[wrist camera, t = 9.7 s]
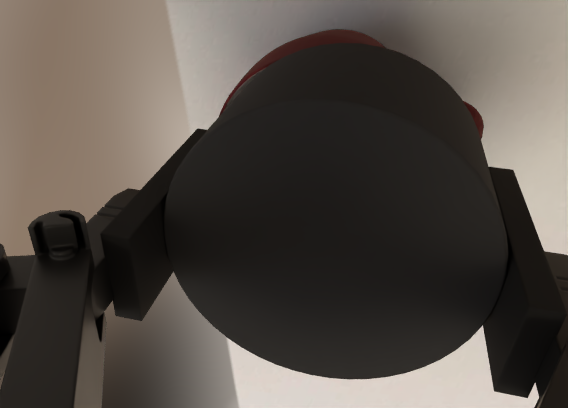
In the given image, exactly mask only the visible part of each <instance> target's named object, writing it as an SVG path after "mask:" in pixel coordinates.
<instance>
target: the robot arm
mask: <svg viewBox="0 0 568 408" xmlns="http://www.w3.org/2000/svg"><path fill="white" fill-rule="evenodd" d="M206 131H207V130H204V129H197V130H196V131H195V132H194V133H193V134H192V135H191V136H190V137H189V138H188V139H187V141H186V142H185V143H184V144H183V145H182V146H181V147H180V148H179V149H178V150H177V151H176V152H175V154H173V156H172V157H171V158H170V159H169V160H168V161H167V162H166V163H165V164H164V165H163V166H162V167H161V168H160V170H159V171H158V172H157V173H156V174H155V175H154V176H153V177H152V178H151V179H150V180H149V181H148V182H147V184H146V185H145V186H144V187H143V188H142V189H141V190H135V189H126V190H125V191H122V192H120V193H119V194H117V195H115V196H113V197H112V198H111V199H110V200H109V201H108V202H107V203H106V204H105V207H102V208H101V209H100V210H99V211H98V212H97V215H94V216H93V217H92V218H91V219H90V220H89V222H87V223H86V221H85V218H84V216H83V215H82V214H80V213H79V212H75V211H70V210H69V211H66V210H62V211H61V210H60V211H55V212H49V213H47V214H44V215H42V216H39V217H38V218H37V219H35V220H34V221H32V223H31V224H30V225H29V227H28V230H29V233H30V237H31V241H32V244H33V248H34V251H35V255H28V256H6V253H5V250H4V247H3V245H2V244H0V379H1V377H2V375H3V373H4V372H5V374H4V378H3V382H2V385H1V389H0V408H101V406H102V390H103V371H104V356H105V337H106V318H105V314H104V311H105V310H106V308H107V307H108V306H109V304H110V303H111V302H112V300H113V304H114V310H115V315H116V316H119V317H124V318H130V319H134V320H140V321H142V320H143V318H144V317H145V315H146V313H147V312H148V310H149V309H150V307H151V306H152V304H153V303H154V301H155V299H156V298H157V296H158V295H159V293H160V292H161V290H162V288H163V287H164V285H165V284H166V282H167V281H168V279H169V277H170V276H171V274H172V273H173V269H172V266H171V263H170V260H169V257H168V254H167V249H166V244H165V238H164V210H165V202H166V197H167V194H168V191H169V187H170V184H171V181H172V179H173V177H174V175H175V173H176V171H177V169H178V167H179V165H180V164H181V162H182V161H183V160H184V158H185V157H186V155H187V154H188V152H189V151H190V150H191V149H192V148H193V146H194V145H195V144H196V143H197V142H198V141H199V139H200V138H201V137H202V136H203V135H204V134H205V132H206ZM489 171H490V175H491V178H492V182H493V185H494V189H495V193H496V196H497V200H498V203H499V207H500V211H501V214H502V218H503V222H504V226H505V229H506V233H507V243H508V264H507V274H506V278H505V281H504V285H503V288H502V291H501V294H500V296H499V298H498V301H497V303H496V305H495V307H494V309H493V311H492V312H491V314H490V315H489V317H488V318H487V320H486V321H485V323H484V324H483V328H484V334H485V340H486V346H487V352H488V358H489V364H490V370H491V375H492V381H493V387H494V391H495V392H500V393H505V394H510V395H515V396H520V397H525V398H528V396H529V394H530V392H531V390H532V388H533V385H534V383H535V382H536V386H537V390H538V394H539V399H538V401H537V403H536V405H535V407H534V408H568V256H567V255H564V254H558V253H551V252H545V251H544V250H543V248H542V245H541V242H540V240H539V237H538V234H537V232H536V229H535V226H534V224H533V221H532V218H531V216H530V213H529V210H528V208H527V205H526V202H525V200H524V197H523V194H522V192H521V189H520V187H519V184H518V181H517V179H516V176H515V173H514V171H513V170H510V169H502V168H494V167H489Z"/></svg>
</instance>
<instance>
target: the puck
mask: <svg viewBox="0 0 568 408" xmlns="http://www.w3.org/2000/svg"><path fill="white" fill-rule="evenodd" d="M164 238H165V244H166V249H167V254H168V257H169V260H170V263H171V266H172V269H173V271H174V273H175V275H176V277H177V279H178V282H179V283H180V285H181V287H182V288H183V290H184V292H185V293H186V295H187V296H188V298H189V299H190V301H191V302H192V303H193V304H194V306H195V307H196V308H197V309H198V311H199V312H200V313H201V314H202V315H203V316H204V317H205V318H206V319H207V320H208V321H209V322H210V323H211V324H212V325H213V326H214V327H215V328H216V329H218V330H219V331H220V332H221V333H222V334H224V335H225V336H226V337H227V338H229V339H230V340H232V341H233V342H235V343H236V344H238V345H239V346H241V347H242V348H244V349H246V350H247V351H249V352H251V353H253V354H255V355H256V356H258V357H260V358H263V359H265V360H267V361H269V362H272V363H274V364H276V365H279V366H282V367H285V368H288V369H291V370H294V371H298V372H302V373H306V374H310V375H316V376H322V377H328V378H339V379H372V378H381V377H389V376H393V375H398V374H403V373H407V372H410V371H413V370H416V369H419V368H422V367H425V366H427V365H429V364H431V363H434V362H436V361H438V360H440V359H442V358H443V357H445V356H447V355H448V354H450V353H452V352H453V351H455V350H456V349H458V348H459V347H460V346H461V345H463V344H464V343H465V342H466V341H468V340H469V339H470V338H471V337H472V336H473V335H474V334H475V333H476V332H477V331H478V330H479V329H480V328H481V326H482V325H483V324H484V323H485V321H486V320H487V318H488V317H489V315H490V314H491V312H492V311H493V309H494V307H495V305H496V303H497V301H498V298H499V296H500V294H501V291H502V288H503V285H504V281H505V278H506V274H507V264H508V243H507V233H506V229H505V226H504V222H503V218H502V214H501V211H500V207H499V203H498V200H497V196H496V193H495V189H494V185H493V182H492V178H491V175H490V171H489V167H488V164H487V160H486V157H485V153H484V149H483V146H482V142H481V139H480V135H479V132H478V129H477V126H476V124H475V122H474V120H473V117H472V115H471V113H470V112H469V110H468V108H467V107H466V105H465V104H464V102H463V101H462V99H461V98H460V96H459V95H458V94H457V93H456V92H455V91H454V90H453V88H452V87H451V86H450V85H449V84H448V83H447V82H446V81H445V80H443V79H442V78H441V77H440V76H439V75H438V74H436V73H435V72H434V71H433V70H431V69H429V68H428V67H426V66H425V65H423V64H422V63H420V62H418V61H417V60H415V59H412V58H410V57H408V56H406V55H404V54H402V53H399V52H396V51H393V50H390V49H386V48H383V47H379V46H373V45H367V44H361V43H334V44H324V45H318V46H314V47H310V48H306V49H302V50H300V51H297V52H294V53H292V54H289V55H287V56H285V57H283V58H281V59H279V60H278V61H276V62H274V63H272V64H271V65H269V66H268V67H266V68H265V69H264V70H263V71H261V72H260V73H259V74H257V75H256V76H255V77H254V78H253V79H252V80H251V81H250V82H249V83H248V84H247V85H246V86H245V87H244V89H243V90H242V91H241V92H240V93H239V94H238V95H237V97H236V98H235V99H234V100H233V101H232V102H231V104H230V105H229V106H228V107H227V108H226V109H225V111H224V112H223V113H222V114H221V115H220V116H219V117H218V119H217V120H216V121H215V122H214V123H213V124H212V126H211V127H210V128H209V129H208V130H207V131H206V132H205V134H204V135H203V136H202V137H201V138H200V139H199V141H198V142H197V143H196V144H195V145H194V146H193V148H192V149H191V150H190V151H189V152H188V154H187V155H186V157H185V158H184V160H183V161H182V162H181V164H180V165H179V167H178V169H177V171H176V173H175V175H174V177H173V179H172V181H171V184H170V187H169V191H168V194H167V197H166V202H165V210H164Z"/></svg>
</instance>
